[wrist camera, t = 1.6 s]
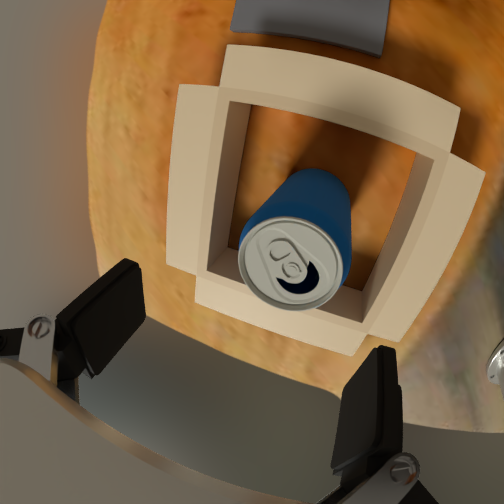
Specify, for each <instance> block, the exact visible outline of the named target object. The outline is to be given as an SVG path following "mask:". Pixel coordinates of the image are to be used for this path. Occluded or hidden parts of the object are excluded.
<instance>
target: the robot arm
mask: <svg viewBox="0 0 504 504" xmlns="http://www.w3.org/2000/svg"><path fill="white" fill-rule="evenodd" d="M145 317H146V312H145V303H144V294H143V283H142V272H141V268H139V264H138V263H137V262H134V261H132V260H129V259H127V258H124V259H122V260H121V261H120V262H119V263H117V264H116V265H115V266H114V267H113V268H111V269H110V270H109V271H108V272H106V273H105V274H104V275H103V276H102V277H100V278H99V279H98V280H97V281H96V282H94V283H93V284H92V285H91V286H90V287H89V288H87V289H86V290H85V291H84V292H83V293H82V294H80V295H79V296H78V297H77V298H76V299H75V300H73V301H72V302H71V303H70V304H69V305H68V306H67V307H66V308H64V309H63V310H62V311H61V312H60V313H59V314H58V315H57V316H56V318H57V319H56V320H55V321H54V319H53V318H52V317H51V316H50V315H47V314H38V315H35V316H33V317H32V318H31V319H29V320H28V322H27V323H26V325H25V327H24V328H15V329H3V330H0V504H312V503H306V502H300V501H295V500H290V499H285V498H281V497H276V496H272V495H268V494H264V493H260V492H256V491H252V490H249V489H245V488H242V487H239V486H235V485H232V484H229V483H226V482H223V481H220V480H217V479H215V478H212V477H209V476H206V475H204V474H202V473H199V472H197V471H194V470H192V469H189V468H187V467H184V466H183V465H180V464H178V463H176V462H174V461H171V460H169V459H167V458H165V457H163V456H161V455H159V454H157V453H155V452H153V451H151V450H150V449H148V448H146V447H144V446H142V445H140V444H138V443H137V442H135V441H133V440H132V439H130V438H128V437H126V436H125V435H123V434H121V433H120V432H118V431H117V430H115V429H113V428H112V427H110V426H109V425H107V424H105V423H104V422H103V421H101V420H100V419H98V418H97V417H95V416H94V415H92V414H91V413H90V412H88V411H87V410H86V409H84V408H83V407H81V406H80V399H79V375H80V374H81V373H84V374H85V375H86V376H88V377H89V378H91V379H92V378H93V377H94V376H95V375H99V374H100V373H101V372H102V370H103V369H104V368H105V367H106V365H107V364H108V363H109V362H110V361H111V360H112V358H113V357H114V356H115V355H116V354H117V352H118V351H119V350H120V349H121V348H122V346H123V345H124V344H125V343H126V342H127V340H128V339H129V338H130V337H131V336H132V335H133V333H134V332H135V331H136V330H137V329H138V328H139V326H140V325H141V324H142V323H143V322H144V320H145ZM486 372H487V377H488V380H489V381H490V382H492V383H494V384H500V388H501V391H502V395H503V400H504V340H503V341H502V342H501V343H500V344H499V346H498V347H497V348H496V349H495V351H494V352H493V354H492V356H491V357H490V359H489V361H488V364H487V368H486ZM402 442H403V409H402V390H401V387H400V385H398V374H397V361H396V351H395V349H394V348H391V347H387V346H383V345H380V346H379V347H378V348H373V350H372V351H371V352H370V354H369V355H368V357H367V358H366V359H365V361H364V362H363V363H362V365H361V366H360V367H359V369H358V370H357V371H356V372H355V374H354V375H353V376H352V378H351V379H350V380H349V381H348V383H347V384H346V385H345V387H344V389H343V392H342V398H341V407H340V413H339V420H338V427H337V433H336V439H335V445H334V451H333V456H332V461H331V468H332V469H334V471H333V475H337V476H342V477H341V482H340V486H338V487H337V488H336V489H334V490H333V491H332V492H331V493H329V494H328V495H327V496H325V497H324V498H323V499H321V500H320V501H318V502H317V503H316V504H439V503H438V502H437V501H436V500H435V499H434V498H433V496H432V495H431V494H430V493H429V492H428V491H427V489H426V488H425V487H424V486H423V485H422V484H421V482H420V481H419V480H418V478H419V475H420V464H419V462H418V460H417V458H416V457H415V456H414V455H412V454H410V453H407V452H402Z"/></svg>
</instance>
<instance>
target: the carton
mask: <svg viewBox="0 0 504 504" xmlns="http://www.w3.org/2000/svg"><path fill="white" fill-rule="evenodd" d="M251 104H254V105H260V106H265V107H271V108H276V109H281V110H285V111H290V112H294V113H299V114H303V115H307V116H311V117H315V118H319V119H323V120H326V121H330V122H333V123H337V124H340V125H344V126H347V127H350V128H353V129H356V130H360V131H363V132H366V133H368V134H371V135H374V136H377V137H380V138H383V139H385V140H388V141H391V142H393V143H396V144H398V145H401V146H403V147H406V148H408V149H411V150H413V151H415V152H417V153H416V157H415V160H414V163H413V167H412V170H411V173H410V176H409V179H408V182H407V185H406V188H405V191H404V194H403V196H402V199H401V202H400V205H399V207H398V210H397V213H396V215H395V218H394V221H393V223H392V226H391V228H390V231H389V233H388V235H387V238H386V240H385V243H384V245H383V247H382V250H381V252H380V254H379V256H378V259H377V261H376V263H375V265H374V268H373V270H372V272H371V274H370V276H369V278H368V280H367V282H366V284H365V286H364V289H363V291H359V290H356V289H353V288H350V287H347V286H344V285H341V287H340V288H339V289H338V290H337V291H336V293H335V294H334V295H333V296H332V298H331V299H329V300H328V301H327V302H326V303H324V304H323V305H321V306H319V307H317V308H314V309H311V310H307V311H286V310H282V309H278V308H275V307H273V306H271V305H268V304H267V303H265V302H263V301H262V300H260V299H259V298H258V297H257V296H256V295H254V294H253V293H252V291H251V290H250V289H249V288H248V287H247V285H246V284H245V282H244V280H243V278H242V276H241V273H240V270H239V264H238V254H239V251H238V250H235V249H232V248H229V247H228V240H229V233H230V227H231V220H232V214H233V208H234V201H235V195H236V189H237V183H238V177H239V171H240V165H241V159H242V154H243V148H244V142H245V136H246V131H247V125H248V120H249V114H250V109H251ZM460 110H461V108H460V107H458V106H456V105H454V104H452V103H450V102H448V101H446V100H444V99H442V98H440V97H438V96H436V95H434V94H432V93H430V92H427V91H425V90H423V89H421V88H418V87H416V86H414V85H411V84H409V83H406V82H404V81H401V80H399V79H396V78H394V77H391V76H388V75H385V74H382V73H379V72H376V71H373V70H370V69H367V68H364V67H361V66H357V65H354V64H350V63H346V62H343V61H339V60H335V59H330V58H326V57H322V56H317V55H312V54H307V53H301V52H296V51H289V50H283V49H275V48H267V47H257V46H246V45H228V44H227V49H226V54H225V59H224V64H223V69H222V74H221V80H220V85H219V87H217V86H205V85H189V84H179V90H178V97H177V104H176V112H175V120H174V128H173V137H172V147H171V158H170V171H169V185H168V204H167V233H166V264H168V265H170V266H173V267H175V268H178V269H181V270H183V271H186V272H188V273H191V274H193V275H196V291H195V303H198V304H200V305H203V306H205V307H208V308H210V309H213V310H215V311H218V312H221V313H223V314H226V315H228V316H231V317H234V318H236V319H239V320H242V321H244V322H247V323H250V324H253V325H255V326H258V327H261V328H264V329H267V330H269V331H272V332H275V333H278V334H281V335H284V336H287V337H290V338H293V339H296V340H299V341H302V342H305V343H308V344H311V345H315V346H318V347H321V348H324V349H328V350H331V351H334V352H338V353H341V354H345V355H348V356H353V355H354V353H355V352H356V350H357V349H358V347H359V346H360V344H361V343H362V341H363V340H364V338H365V336H366V335H367V334H370V335H374V336H377V337H381V338H384V339H388V340H391V341H395V342H398V343H399V341H400V340H401V338H402V337H403V336H404V334H405V333H406V331H407V330H408V329H409V327H410V326H411V324H412V323H413V321H414V320H415V318H416V317H417V315H418V314H419V312H420V311H421V309H422V307H423V306H424V304H425V303H426V301H427V299H428V298H429V296H430V294H431V293H432V291H433V289H434V288H435V286H436V284H437V282H438V281H439V279H440V277H441V275H442V273H443V272H444V270H445V268H446V266H447V264H448V262H449V260H450V258H451V256H452V254H453V252H454V250H455V248H456V246H457V244H458V242H459V240H460V238H461V235H462V233H463V231H464V229H465V226H466V224H467V222H468V219H469V217H470V215H471V212H472V210H473V207H474V204H475V202H476V199H477V196H478V194H479V191H480V188H481V185H482V182H483V179H484V176H485V173H486V172H484V171H482V170H481V169H479V168H477V167H475V166H474V165H472V164H470V163H468V162H467V161H465V160H463V159H461V158H459V157H457V156H455V155H453V154H451V153H450V150H451V147H452V143H453V139H454V136H455V132H456V127H457V123H458V119H459V114H460Z"/></svg>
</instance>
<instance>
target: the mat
mask: <svg viewBox="0 0 504 504" xmlns="http://www.w3.org/2000/svg"><path fill="white" fill-rule="evenodd" d="M389 1H390V0H236V4H235V8H234V13H233V17H232V21H231V26H230V30H231V31H233V32H241V33H257V34H268V35H278V36H286V37H293V38H299V39H305V40H311V41H316V42H321V43H326V44H331V45H335V46H339V47H343V48H347V49H351V50H355V51H358V52H362V53H365V54H368V55H372V56H375V57H378V58H380V57H381V55H382V50H383V44H384V38H385V31H386V24H387V17H388V9H389Z"/></svg>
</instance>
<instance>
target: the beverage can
mask: <svg viewBox="0 0 504 504" xmlns="http://www.w3.org/2000/svg"><path fill="white" fill-rule="evenodd" d="M351 259H352V247H351V209H350V198H349V194H348V192H347V190H346V188H345V186H344V185H343V183H342V182H341V181H340V180H339V179H338V178H337V177H336V176H334V175H333V174H331V173H329V172H327V171H324V170H321V169H312V168H311V169H304V170H300V171H298V172H296V173H294V174H292V175H291V176H290V177H289V178H288V179H287V180H286V181H285V182H284V183H283V184H282V185H281V186H280V187H279V188H278V189H277V190H276V191H275V192H274V193H273V194H272V195H271V196H270V198H269V199H268V200H267V201H266V202H265V203H264V204H263V205H262V206H261V207H260V208H259V209H258V210H257V211H256V212H255V213H254V215H253V216H252V217H251V218H250V219H249V220H248V222H247V223H246V224H245V226H244V228H243V230H242V233H241V236H240V241H239V254H238V264H239V270H240V273H241V276H242V278H243V280H244V282H245V284H246V285H247V287H248V288H249V289H250V290H251V291H252V293H253V294H254V295H256V296H257V297H258V298H259V299H260V300H262V301H263V302H265V303H267V304H268V305H271V306H273V307H275V308H278V309H282V310H286V311H307V310H311V309H314V308H317V307H319V306H321V305H323V304H324V303H326V302H327V301H328V300H329V299H331V298H332V296H333V295H334V294H335V293H336V291H337V290H338V289H339V288H340V287H341V285H342V284H343V283H344V281H345V279H346V278H347V275H348V273H349V270H350V266H351Z"/></svg>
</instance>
